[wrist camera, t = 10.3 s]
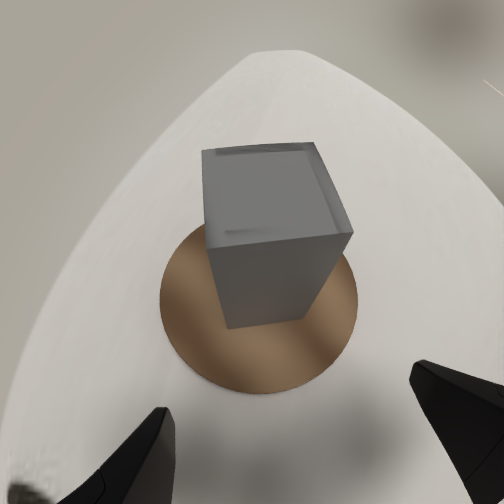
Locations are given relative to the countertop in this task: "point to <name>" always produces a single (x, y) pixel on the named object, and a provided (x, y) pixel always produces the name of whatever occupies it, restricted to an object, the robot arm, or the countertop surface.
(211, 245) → the gray rectangular block
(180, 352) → the stand
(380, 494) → the countertop surface
